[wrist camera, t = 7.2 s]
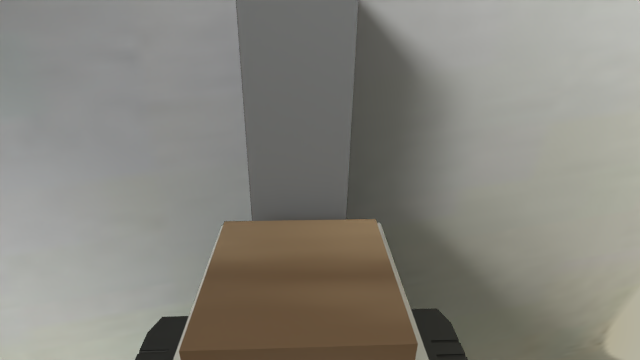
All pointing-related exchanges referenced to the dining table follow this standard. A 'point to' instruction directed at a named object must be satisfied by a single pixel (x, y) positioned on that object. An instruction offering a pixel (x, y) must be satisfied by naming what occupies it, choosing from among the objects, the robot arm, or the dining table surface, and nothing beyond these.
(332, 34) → the rail
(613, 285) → the dining table surface
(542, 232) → the dining table surface
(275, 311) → the bar
